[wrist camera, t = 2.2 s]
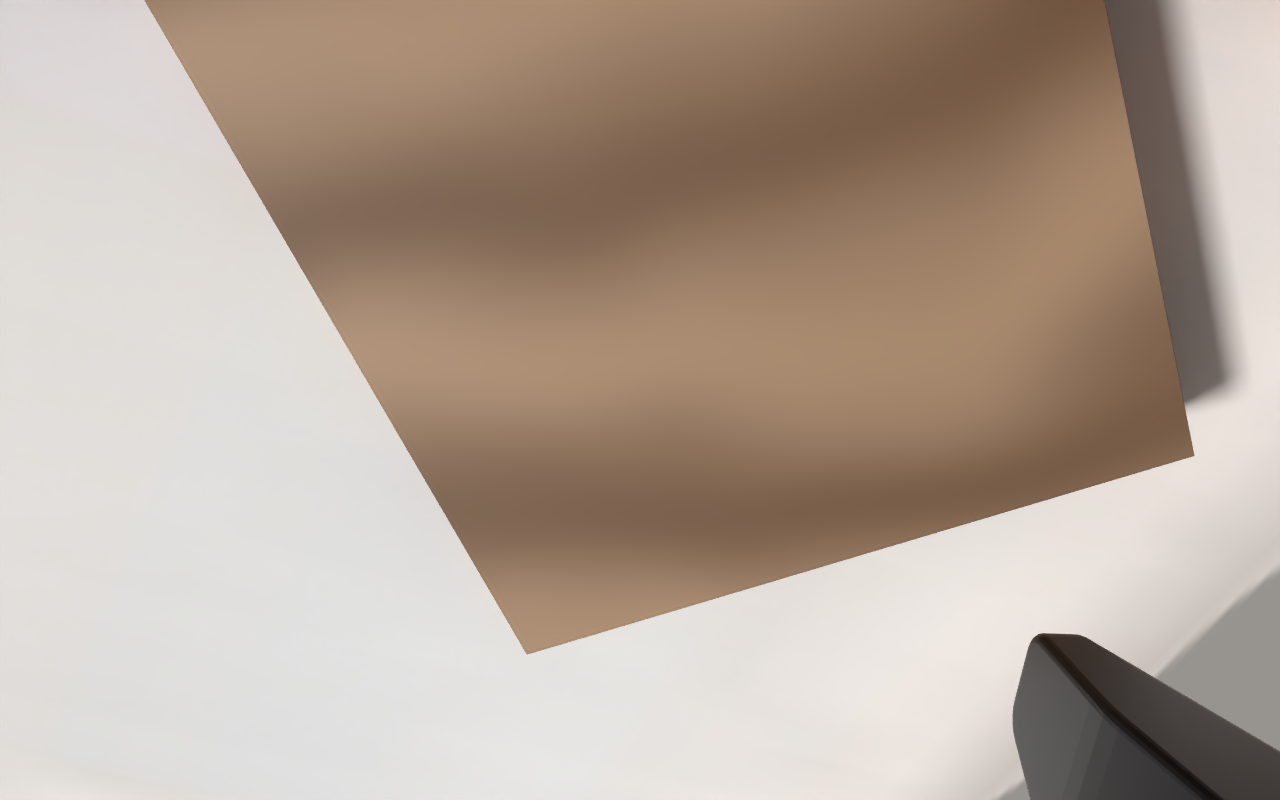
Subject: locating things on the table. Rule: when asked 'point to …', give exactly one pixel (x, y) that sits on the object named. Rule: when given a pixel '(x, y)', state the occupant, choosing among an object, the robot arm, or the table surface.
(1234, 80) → the table surface
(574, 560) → the walnut board
